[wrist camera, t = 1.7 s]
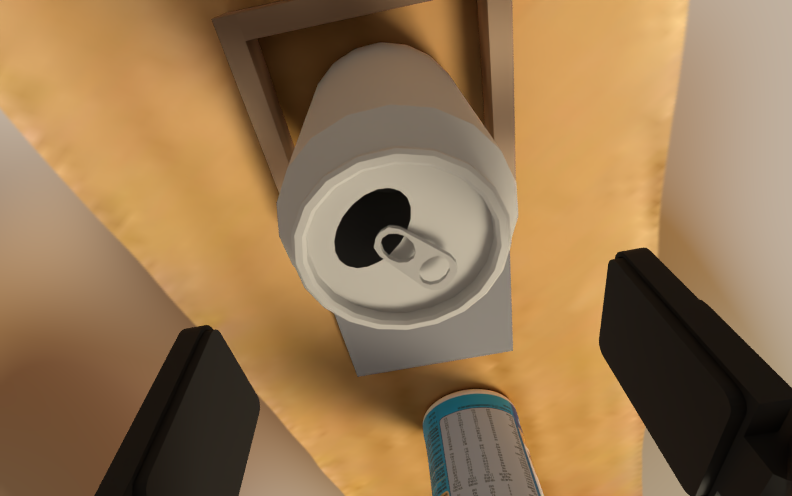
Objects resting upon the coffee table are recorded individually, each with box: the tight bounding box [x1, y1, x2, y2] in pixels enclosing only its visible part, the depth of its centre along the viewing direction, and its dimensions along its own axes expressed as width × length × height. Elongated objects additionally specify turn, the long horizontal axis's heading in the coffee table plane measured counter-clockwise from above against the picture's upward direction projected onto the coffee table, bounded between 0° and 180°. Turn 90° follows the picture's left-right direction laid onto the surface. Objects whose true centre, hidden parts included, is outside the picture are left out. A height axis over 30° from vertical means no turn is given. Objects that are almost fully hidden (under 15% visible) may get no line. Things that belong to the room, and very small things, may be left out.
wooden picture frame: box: [212, 0, 516, 194], centre depth 21 cm, size 12×12×2 cm
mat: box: [334, 250, 513, 377], centre depth 29 cm, size 12×12×1 cm
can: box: [277, 42, 518, 330], centre depth 17 cm, size 8×8×12 cm
